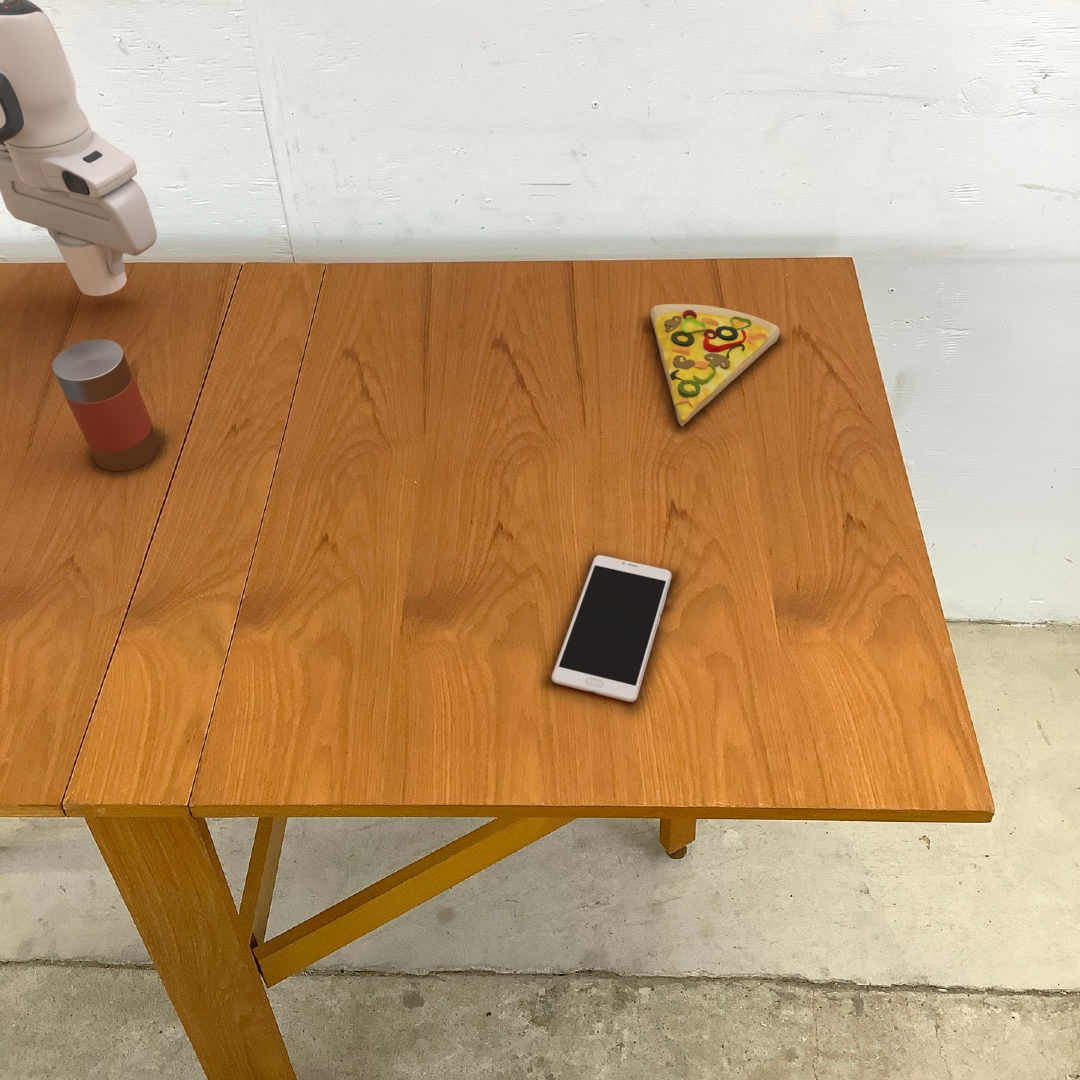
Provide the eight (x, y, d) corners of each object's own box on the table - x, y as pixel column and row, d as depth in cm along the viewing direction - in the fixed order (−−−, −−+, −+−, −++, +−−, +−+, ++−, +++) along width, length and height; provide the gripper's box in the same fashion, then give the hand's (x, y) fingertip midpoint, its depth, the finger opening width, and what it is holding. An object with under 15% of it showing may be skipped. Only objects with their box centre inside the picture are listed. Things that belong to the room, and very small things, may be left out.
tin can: (81, 460, 103) (36, 369, 95) (125, 422, 107) (86, 331, 99) (129, 479, 101) (88, 388, 92) (173, 440, 105) (138, 349, 96)
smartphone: (549, 679, 83) (595, 552, 93) (549, 684, 84) (595, 557, 93) (636, 701, 82) (673, 570, 91) (635, 705, 82) (672, 574, 92)
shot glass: (117, 301, 117) (97, 249, 112) (63, 296, 118) (41, 243, 113) (141, 270, 122) (124, 218, 117) (89, 265, 123) (70, 213, 118)
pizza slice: (780, 331, 117) (784, 310, 115) (751, 442, 104) (755, 421, 102) (654, 309, 121) (655, 288, 118) (610, 414, 107) (611, 392, 105)
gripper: (-35, 147, 109) (13, 258, 119) (105, 188, 103) (143, 300, 113) (8, 125, 113) (52, 233, 123) (146, 163, 107) (179, 274, 117)
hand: (96, 266), depth 118 cm, fingers closed on shot glass, 5 cm apart
